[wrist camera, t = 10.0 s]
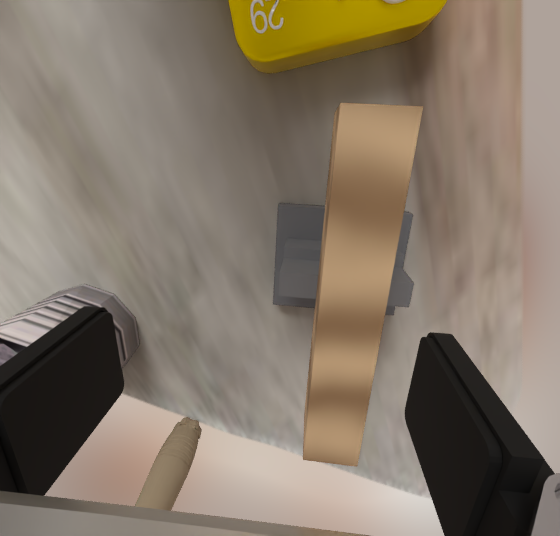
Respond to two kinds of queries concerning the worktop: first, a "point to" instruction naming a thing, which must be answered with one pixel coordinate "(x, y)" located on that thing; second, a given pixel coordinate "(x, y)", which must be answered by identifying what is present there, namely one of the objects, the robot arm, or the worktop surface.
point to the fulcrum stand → (306, 257)
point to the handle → (171, 467)
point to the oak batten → (355, 271)
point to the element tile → (323, 28)
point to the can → (53, 310)
